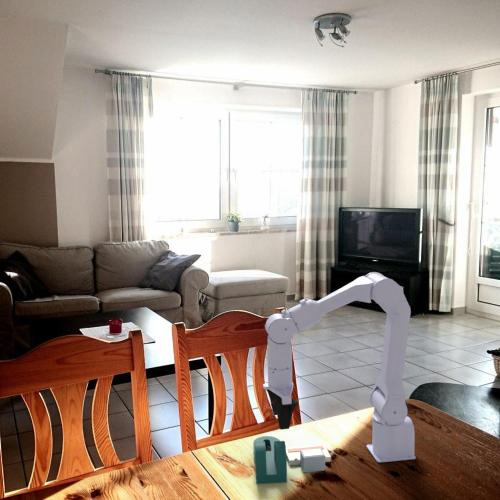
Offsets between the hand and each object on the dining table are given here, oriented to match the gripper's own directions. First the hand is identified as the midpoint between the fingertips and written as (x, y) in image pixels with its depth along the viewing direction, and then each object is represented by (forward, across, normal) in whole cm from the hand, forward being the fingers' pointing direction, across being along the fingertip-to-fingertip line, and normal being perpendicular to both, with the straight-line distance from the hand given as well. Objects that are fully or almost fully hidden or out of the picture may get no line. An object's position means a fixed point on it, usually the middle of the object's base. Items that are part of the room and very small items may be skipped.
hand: (281, 421), depth 128 cm
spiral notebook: (+10, -1, +6) cm, 12 cm away
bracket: (+10, 0, -3) cm, 11 cm away
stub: (+10, +4, +6) cm, 13 cm away
